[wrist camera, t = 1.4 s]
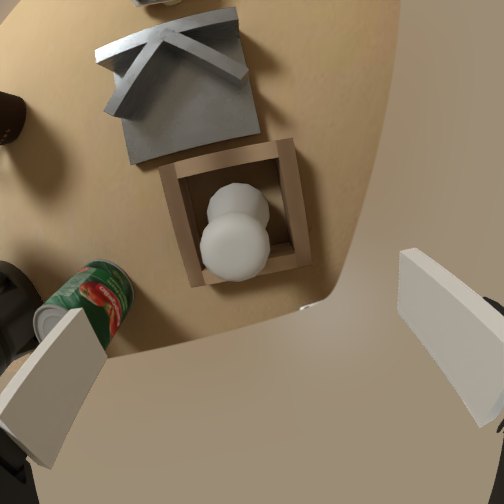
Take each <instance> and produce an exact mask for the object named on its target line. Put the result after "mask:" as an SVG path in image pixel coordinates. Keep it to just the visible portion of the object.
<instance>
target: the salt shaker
mask: <svg viewBox="0 0 504 504" xmlns="http://www.w3.org/2000/svg"><path fill="white" fill-rule="evenodd" d="M207 216H208V222H209V224H208V225H207V226H206V228H205V229H204V231H203V235H202V238H201V242H200V250H201V255H202V260H203V263H204V264H205V266H206V267H207V268H208V269H209V271H210V272H211V273H212V274H213V275H215V276H217V277H219V278H221V279H222V280H224V281H234V282H241V281H244V280H247V279H250V278H253V277H255V276H256V275H257V274H258V273H259V272H260V271H261V270H262V269H263V268H264V266H265V264H266V261H267V259H268V256H269V253H270V243H269V236H268V233H267V231H266V230H265V229H266V226H267V223H268V221H269V218H270V213H269V206H268V202H267V201H266V199H265V198H264V196H263V194H262V193H261V191H259V190H257V189H256V188H254V187H252V186H250V185H249V184H241V183H232V184H230V185H227V186H224V187H222V188H220V189H219V190H218V191H217V192H216V193H215V194H214V195H213V196H212V198H211V199H210V202H209V206H208V209H207Z"/></svg>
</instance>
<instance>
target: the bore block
mask: <svg viewBox="0 0 504 504" xmlns="http://www.w3.org/2000/svg"><path fill="white" fill-rule="evenodd" d="M272 158H275V160H276V165H277V171H278V176H279V182H280V187H281V193H282V199H283V204H284V210H285V216H286V222H287V228H288V234H289V240H290V242H286V243H281V244H276V245H271V246H270V253H269V256H268V259H267V261H266V264H265V266H264V268H263V269H262V270H261V271H260V272H259V273H258V274H257V275H256V276H258V275H264V274H269V273H274V272H279V271H285V270H290V269H295V268H300V267H305V266H310V265H312V257H311V249H310V242H309V234H308V227H307V220H306V213H305V207H304V200H303V194H302V187H301V181H300V175H299V170H298V164H297V158H296V153H295V147H294V142H293V138H288V139H282V140H276V141H270V142H264V143H259V144H253V145H248V146H243V147H238V148H233V149H228V150H224V151H219V152H214V153H210V154H206V155H202V156H197V157H193V158H189V159H185V160H181V161H178V162H174V163H170V164H167V165H163V166H159V167H158V168H159V173H160V177H161V181H162V185H163V189H164V193H165V197H166V201H167V205H168V209H169V213H170V216H171V220H172V224H173V228H174V231H175V235H176V238H177V242H178V245H179V249H180V252H181V256H182V259H183V263H184V266H185V269H186V272H187V276H188V279H189V282H190V285H191V288H192V287H198V286H204V285H209V284H215V283H220V282H226V281H224V280H222V279H221V278H219V277H217V276H215V275H213V274H212V273H211V272H210V271H209V269H208V268H207V267H206V266H205V264H204V263H203V260H202V255H201V250H200V242H201V236H200V232H199V229H198V225H197V221H196V217H195V213H194V209H193V205H192V200H191V196H190V192H189V188H188V184H187V179H186V177H187V176H191V175H195V174H199V173H203V172H208V171H212V170H216V169H221V168H226V167H230V166H235V165H240V164H245V163H250V162H255V161H261V160H266V159H272Z"/></svg>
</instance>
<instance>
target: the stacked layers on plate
mask: <svg viewBox="0 0 504 504" xmlns="http://www.w3.org/2000/svg"><path fill="white" fill-rule="evenodd" d="M131 1H132V2H133V3H134V4H135V5H136V7H141V6H146V5H151V4H157V3H163V4H165V5H175V4H177V3H179V2H180V1H181V0H131Z"/></svg>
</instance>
